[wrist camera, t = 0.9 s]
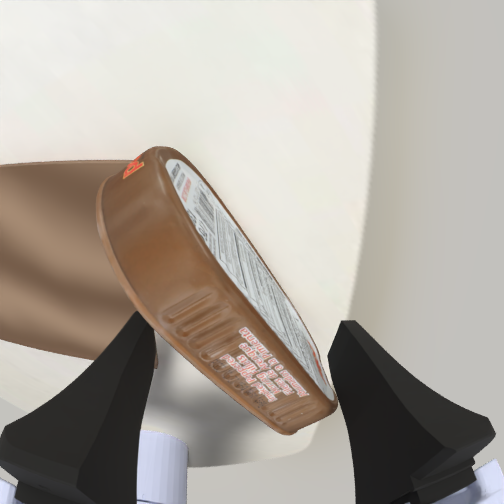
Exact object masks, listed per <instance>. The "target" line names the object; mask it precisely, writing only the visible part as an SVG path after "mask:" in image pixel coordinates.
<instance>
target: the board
mask: <svg viewBox="0 0 504 504" xmlns="http://www.w3.org/2000/svg"><path fill="white" fill-rule="evenodd" d="M132 161H133V160H78V161H50V162H32V163H18V164H6V165H0V339H1V340H5V341H8V342H12V343H16V344H20V345H23V346H27V347H32V348H36V349H40V350H44V351H49V352H53V353H58V354H63V355H68V356H73V357H78V358H84V359H89V360H96V358H97V357H98V356H99V355H100V354H101V353H102V352H103V351H104V350H105V348H106V347H107V346H108V345H109V344H110V342H111V341H112V340H113V339H114V338H115V337H116V335H117V334H118V333H119V331H120V330H121V329H122V328H123V326H124V325H125V324H126V322H127V321H128V320H129V318H130V317H131V316H132V314H133V313H134V312H135V311H138V310H137V309H136V308H135V307H134V305H133V303H132V302H131V301H130V299H129V298H128V297H127V295H126V293H125V292H124V290H123V288H122V286H121V285H120V283H119V281H118V280H117V278H116V276H115V274H114V272H113V270H112V268H111V265H110V264H109V261H108V259H107V256H106V254H105V252H104V249H103V246H102V243H101V239H100V236H99V232H98V227H97V220H96V197H97V193H98V190H99V188H100V185H101V184H102V182H103V181H104V180H105V179H106V178H108V177H109V176H111V175H114V174H117V173H118V172H120V171H121V170H122V169H124V168H125V167H126V166H127V165H128V164H130V163H131V162H132ZM154 337H155V335H154ZM155 345H156V343H155ZM157 366H158V358H157V351H156V356H155V364H154V369H157Z"/></svg>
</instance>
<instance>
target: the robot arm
mask: <svg viewBox="0 0 504 504" xmlns="http://www.w3.org/2000/svg"><path fill="white" fill-rule="evenodd" d="M155 356H156V345H155V337H154V329H153V328H152V327H151V326H150V325H149V323H148V322H147V321H146V320H145V319H144V318H143V317H142V315H141V314H140V313H139V312H138V311H135V312H134V313H133V314H132V316H131V317H130V318H129V320H128V321H127V322H126V324H125V325H124V326H123V328H122V329H121V330H120V331H119V333H118V334H117V335H116V337H115V338H114V339H113V340H112V341H111V342H110V344H109V345H108V346H107V347H106V348H105V350H104V351H103V352H102V353H101V354H100V355H99V356H98V357H97V358H96V360H95V361H94V362H93V363H92V364H91V365H90V366H89V367H88V368H87V369H86V370H85V371H84V372H83V373H82V374H81V375H80V376H79V377H78V378H76V379H75V380H74V381H73V382H72V383H71V384H70V385H68V386H67V387H66V388H65V389H64V390H62V391H61V392H60V393H59V394H57V395H56V396H55V397H53V398H52V399H51V400H49V401H48V402H46V403H45V404H43V405H42V406H40V407H39V408H37V409H36V410H34V411H33V412H31V413H29V414H28V415H26V416H24V417H22V418H20V419H18V420H16V421H14V422H12V423H11V424H9V425H7V426H5V428H4V430H3V432H2V434H1V437H0V466H1V467H2V468H3V469H5V470H6V471H7V472H8V473H9V474H11V475H12V476H13V477H15V478H16V479H17V480H18V484H17V487H16V486H15V485H13V484H11V483H9V482H7V481H5V480H3V479H1V478H0V504H186V502H187V501H186V499H187V497H186V496H187V462H188V447H187V445H186V444H185V443H184V442H183V441H182V440H180V439H178V438H176V437H173V436H171V435H168V434H165V433H160V432H156V431H148V430H141V424H142V419H143V415H144V410H145V406H146V402H147V398H148V393H149V389H150V385H151V381H152V377H153V372H154V364H155ZM327 356H328V362H329V368H330V373H331V378H332V382H333V385H334V388H335V391H336V394H337V397H338V400H339V403H340V406H341V409H342V412H343V415H344V419H345V422H346V426H347V430H348V434H349V440H350V446H351V452H352V459H353V467H354V478H355V496H356V504H504V476H503V473H502V471H501V469H500V466H499V464H498V462H497V460H496V459H493V460H491V461H490V462H488V463H487V464H485V465H483V466H481V467H479V468H478V469H476V470H475V471H473V469H472V467H471V466H473V465H474V464H475V461H474V458H473V457H474V456H475V455H476V454H477V453H479V452H480V451H481V450H482V449H483V448H484V447H485V446H487V445H488V444H489V443H490V442H491V441H492V440H493V439H494V437H495V435H496V433H495V431H494V429H493V427H492V425H491V423H490V421H489V419H488V418H487V417H485V416H482V415H480V414H477V413H474V412H472V411H469V410H467V409H465V408H463V407H461V406H459V405H457V404H455V403H453V402H451V401H450V400H448V399H446V398H444V397H443V396H441V395H440V394H438V393H436V392H435V391H433V390H432V389H430V388H429V387H427V386H426V385H425V384H423V383H422V382H420V381H419V380H418V379H417V378H415V377H414V376H413V375H412V374H411V373H409V372H408V371H407V370H406V369H405V368H404V367H402V366H401V365H400V364H399V363H398V362H397V361H396V360H395V359H394V358H393V357H392V356H391V355H389V354H388V353H387V352H386V351H385V350H384V349H383V348H382V347H381V346H380V345H379V344H378V343H377V342H376V341H375V340H374V339H373V338H372V337H371V336H370V335H369V334H368V333H367V332H366V331H365V330H364V329H363V328H362V327H361V326H360V325H359V324H358V323H357V322H356V321H355V320H352V321H351V320H349V321H341V323H340V325H339V328H338V330H337V333H336V336H335V338H334V341H333V343H332V346H331V348H330V351H329V353H328V355H327Z"/></svg>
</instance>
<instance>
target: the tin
mask: <svg viewBox="0 0 504 504" xmlns="http://www.w3.org/2000/svg"><path fill="white" fill-rule="evenodd" d="M96 220H97V227H98V232H99V236H100V239H101V243H102V246H103V249H104V252H105V254H106V256H107V259H108V261H109V264H110V265H111V268H112V270H113V272H114V274H115V276H116V278H117V280H118V281H119V283H120V285H121V286H122V288H123V290H124V292H125V293H126V295H127V297H128V298H129V299H130V301H131V302H132V303H133V305H134V307H135V308H136V309H137V310H138V312H139V313H140V314H141V315H142V317H143V318H144V319H145V320H146V321H147V322H148V323H149V325H150V326H151V327H152V328H153V329H154V330H155V331H156V332H157V333H158V334H159V335H160V336H161V337H162V338H163V339H164V340H165V341H167V342H168V343H169V344H170V345H171V346H172V347H173V348H174V349H175V350H176V351H178V352H179V353H180V354H181V355H182V356H183V357H184V358H185V359H186V360H188V361H189V362H190V363H191V364H192V365H193V366H194V367H195V368H196V369H198V370H199V371H200V372H201V373H202V374H204V375H205V376H206V377H207V378H208V379H210V380H211V381H212V382H213V383H214V384H215V385H217V386H218V387H219V388H220V389H222V390H223V391H224V392H225V393H227V394H228V395H229V396H230V397H231V398H233V399H234V400H235V401H236V402H237V403H239V404H240V405H242V406H243V407H244V408H245V409H247V410H248V411H249V412H250V413H251V414H253V415H254V416H256V417H257V418H258V419H260V420H261V421H262V422H264V423H265V424H266V425H267V426H269V427H270V428H272V429H273V430H275V431H276V432H278V433H280V434H282V435H293V434H294V433H296V432H297V431H298V430H299V429H301V428H304V427H306V426H308V425H310V424H313V423H315V422H317V421H319V420H321V419H323V418H325V417H327V416H329V415H331V414H332V413H334V412H335V410H336V409H337V407H338V399H337V396H336V394H335V392H334V391H333V389H332V388H331V386H330V384H329V382H328V379H327V376H326V374H325V371H324V369H323V367H322V364H321V360H320V355H319V351H318V349H317V347H316V344H315V342H314V341H313V339H312V337H311V335H310V333H309V331H308V330H307V328H306V326H305V324H304V322H303V321H302V319H301V317H300V316H299V314H298V312H297V311H296V309H295V307H294V306H293V304H292V303H291V301H290V300H289V298H288V297H287V295H286V294H285V292H284V291H283V289H282V288H281V286H280V285H279V283H278V282H277V280H276V279H275V277H274V276H273V274H272V273H271V271H270V270H269V268H268V267H267V265H266V264H265V262H264V261H263V259H262V257H261V256H260V255H259V253H258V252H257V250H256V249H255V247H254V246H253V244H252V243H251V241H250V240H249V239H248V237H247V236H246V234H245V233H244V231H243V230H242V229H241V227H240V226H239V224H238V223H237V221H236V220H235V219H234V217H233V216H232V214H231V213H230V212H229V210H228V209H227V207H226V206H225V205H224V203H223V202H222V200H221V199H220V198H219V196H218V195H217V194H216V192H215V191H214V190H213V188H212V187H211V186H210V184H209V183H208V182H207V181H206V179H205V178H204V177H203V176H202V174H201V173H200V172H199V171H198V170H197V168H196V167H195V166H194V165H193V164H192V163H191V162H190V161H189V160H188V159H187V158H186V157H185V156H183V155H182V154H181V153H180V152H178V151H177V150H175V149H173V148H170V147H163V146H156V147H152V148H150V149H148V150H147V151H145V152H144V153H142V154H141V155H139V156H138V157H137V158H136V159H134V160H133V161H132V162H131V163H130V164H128V165H127V166H126V167H125V168H124V169H122V170H121V171H120V172H118V173H117V174H114V175H111V176H109V177H108V178H106V179H105V180H104V181H103V182H102V184H101V185H100V188H99V190H98V193H97V197H96Z"/></svg>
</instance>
